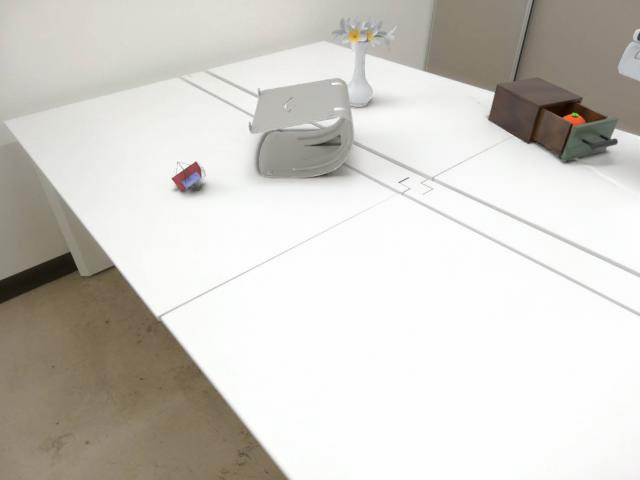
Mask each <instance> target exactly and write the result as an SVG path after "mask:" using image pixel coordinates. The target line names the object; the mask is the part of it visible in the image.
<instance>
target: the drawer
mask: <svg viewBox="0 0 640 480" xmlns="http://www.w3.org/2000/svg"><path fill="white" fill-rule="evenodd" d="M572 113H577V114H578V115H579V116H581V117H582V118H583V119H584V120H585V122H586V123H585V124H580V125H576V126H573V123H571V122H569V121H567V120H565V119H563V117H564V116H567V115H570V114H572ZM608 117H609V116H608V115H606V114H603V113H602V112H599V111H597V110H595V109H593V108H591V107H589V106H586V105H585V104H582V103H581V104H580V103H578V102H571V103H565V104H560V105H555V106H550V107H545V108H541V109H540V112H539V116H538V119H537V122H536V125H535V128H534V132H533V135H532V139H534V140H536V141H537V142H536V143H539V144H541V145H542V146H544V147H546V148H547V149H549V150H551V151H552V152H554V153H556V154H558V155H561V158H560V159H561V160H562V161H570V160H574V159H579V158H583V157H586V156H587V157H588V156H591V155H595V154H596V155H597V154H600V153H603V152H606V151H607V148H609V147H613V146H616V145H618V143H619V140H618V139H617V138H612V136H613V134H614V132H615V129H616V127H617V125H618V122H619V120H620V119H619V118H617V117H609V118H608ZM572 126H573V128H572ZM571 128H572V131H571ZM570 131H571V133H570ZM569 134H570V136H569ZM568 137H569V139H568ZM567 139H568V141H567Z"/></svg>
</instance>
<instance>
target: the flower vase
mask: <svg viewBox="0 0 640 480" xmlns="http://www.w3.org/2000/svg"><path fill="white" fill-rule="evenodd" d="M350 19H351V17H350V16H349V17H347V19H346V20H345V18H344V17H342V18H341V19H340V21H339V28H335V29H334V30H333V31H332V32H331V35H335V36H334V37H333V41H335V40H337V39H338V38H340V37H341V39H340V43H341V44H348V43H350V49H351V51H353V52H354V56H355V57H354V68H353V74H352V77H351V80H350V81H349V83H346V84H347V87H348V92H349V99H350V107H354V108H362V107H365V106H367V105H368V103H369V102H370V101H371V100H372V99H373V97H374V90H373V87H372V86H371V84H370V83H369V82H368V80H367V77H366V53H367V48H368V44H369V43H370V45H371V47H372V48H373V49H375V48H376V45H378V46H381V45H382V42H381V40H382V39H384V43H385V45H386V49H387V53H388V54H389V53H390V50H391V44H393V43H395V35H394V34H395V31H396V29H397V27H398V25H395V26H394V27H393V29H391V30H390V31H389V32H387V31H386V30H384V29H381V28H382V27H383V21H382V19H378V20H377V21H376V22H375V20H374V18H373V17H372V16H368V20H366V21H363V22H362V21H361V18H360V17H359V15H358V14H356V15H354V17H353V20H352V21H353V24H350Z"/></svg>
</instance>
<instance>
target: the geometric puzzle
mask: <svg viewBox="0 0 640 480" xmlns="http://www.w3.org/2000/svg"><path fill="white" fill-rule="evenodd" d="M180 163H181V161H177V163H176V165H179V167H181V169H182V170H181V171H180V172H179V173H177V172H178V169H176V170H175V169H174V171H173V172H175V171H176V172H175V175H173V176H172V177H171V178H170V180H172V181H173V183H174V184H175V185H176V187H177V188H178V190H179V191H180V192H184V191H186V189H189V188H190V187H191V186H193V185H194V186H195V187H196V188H197V189H196V190H197V192H200V190H201V187H202V183H200V185H199V187H197V185H196V183H197V182H198V181H200V180H201V181H203V178H205V177H207V172H206V169H205V168H204V166H203V165H202V164H200V163H199V162H198V161H197V160H195V161H193V163H191V164H188V163H186V165H188V166H187V167H186V168H184V167H183V166H182V165H181V164H180ZM182 164H183V165H185V162H182ZM191 191H194V189H192V188H191Z"/></svg>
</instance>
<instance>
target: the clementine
mask: <svg viewBox="0 0 640 480" xmlns="http://www.w3.org/2000/svg"><path fill="white" fill-rule="evenodd" d="M563 119H565V120H567V121H569V122H571V123H573V126H576V125H580V124H585V123H586V122H585V120H584V119H583V118H582V117H581V116H579V115H578V114H577V113H572V114H570V115H567V116H564V117H563ZM573 126H572V128H573ZM572 128H571V131H572ZM571 131H570V133H571ZM569 136H570V134H569ZM568 139H569V137H568ZM568 139H567V141H568Z"/></svg>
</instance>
